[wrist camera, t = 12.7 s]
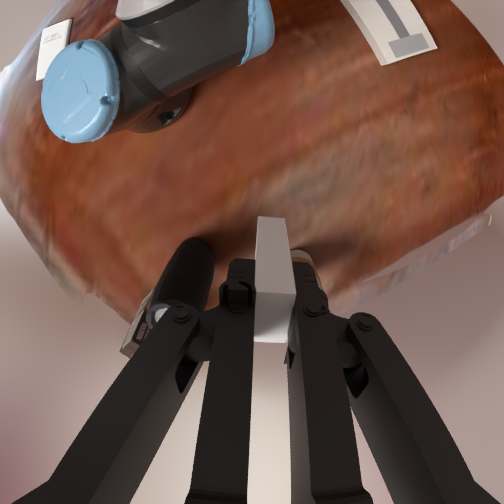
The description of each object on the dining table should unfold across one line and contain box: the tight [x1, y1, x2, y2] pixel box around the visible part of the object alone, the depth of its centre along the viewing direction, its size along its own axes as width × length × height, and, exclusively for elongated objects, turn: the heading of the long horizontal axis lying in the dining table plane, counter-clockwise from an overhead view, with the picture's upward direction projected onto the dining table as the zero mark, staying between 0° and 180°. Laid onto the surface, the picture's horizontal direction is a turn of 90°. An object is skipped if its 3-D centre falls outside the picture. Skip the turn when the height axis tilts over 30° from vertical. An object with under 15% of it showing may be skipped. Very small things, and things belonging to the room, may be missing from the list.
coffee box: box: [120, 289, 155, 358], centre depth 56 cm, size 9×6×16 cm
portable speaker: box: [146, 238, 215, 329], centre depth 47 cm, size 9×9×20 cm
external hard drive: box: [36, 19, 72, 81], centre depth 31 cm, size 2×8×12 cm
